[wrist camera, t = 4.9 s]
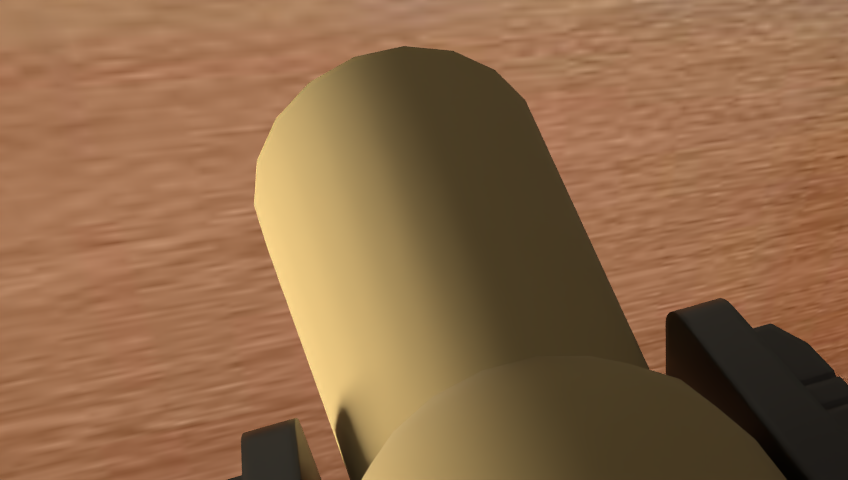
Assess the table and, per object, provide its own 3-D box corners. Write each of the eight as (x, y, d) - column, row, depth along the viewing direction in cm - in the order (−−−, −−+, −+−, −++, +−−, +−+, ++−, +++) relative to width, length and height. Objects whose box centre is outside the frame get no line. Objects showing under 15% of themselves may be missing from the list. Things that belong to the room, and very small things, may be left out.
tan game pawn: (224, 288, 17) (235, 949, 8) (295, 8, 14) (440, 518, 5) (485, 325, 19) (736, 880, 10) (590, 87, 16) (1074, 549, 7)
